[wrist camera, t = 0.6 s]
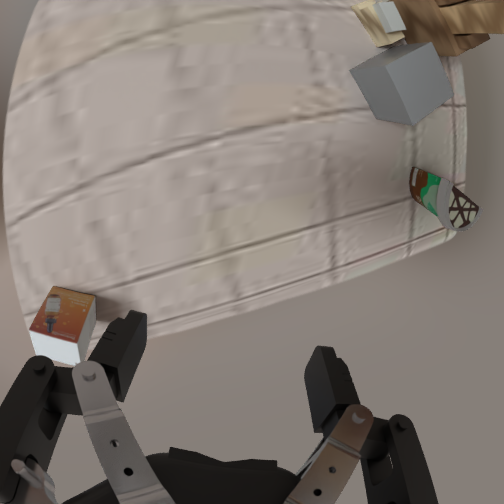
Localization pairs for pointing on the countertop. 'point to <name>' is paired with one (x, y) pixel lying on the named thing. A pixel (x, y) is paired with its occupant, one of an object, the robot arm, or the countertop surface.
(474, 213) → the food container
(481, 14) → the oak board
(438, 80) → the slate block
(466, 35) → the walnut rack
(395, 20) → the grey painted offcut
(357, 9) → the pine offcut
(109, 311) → the countertop surface
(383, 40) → the pine offcut
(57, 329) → the small box
